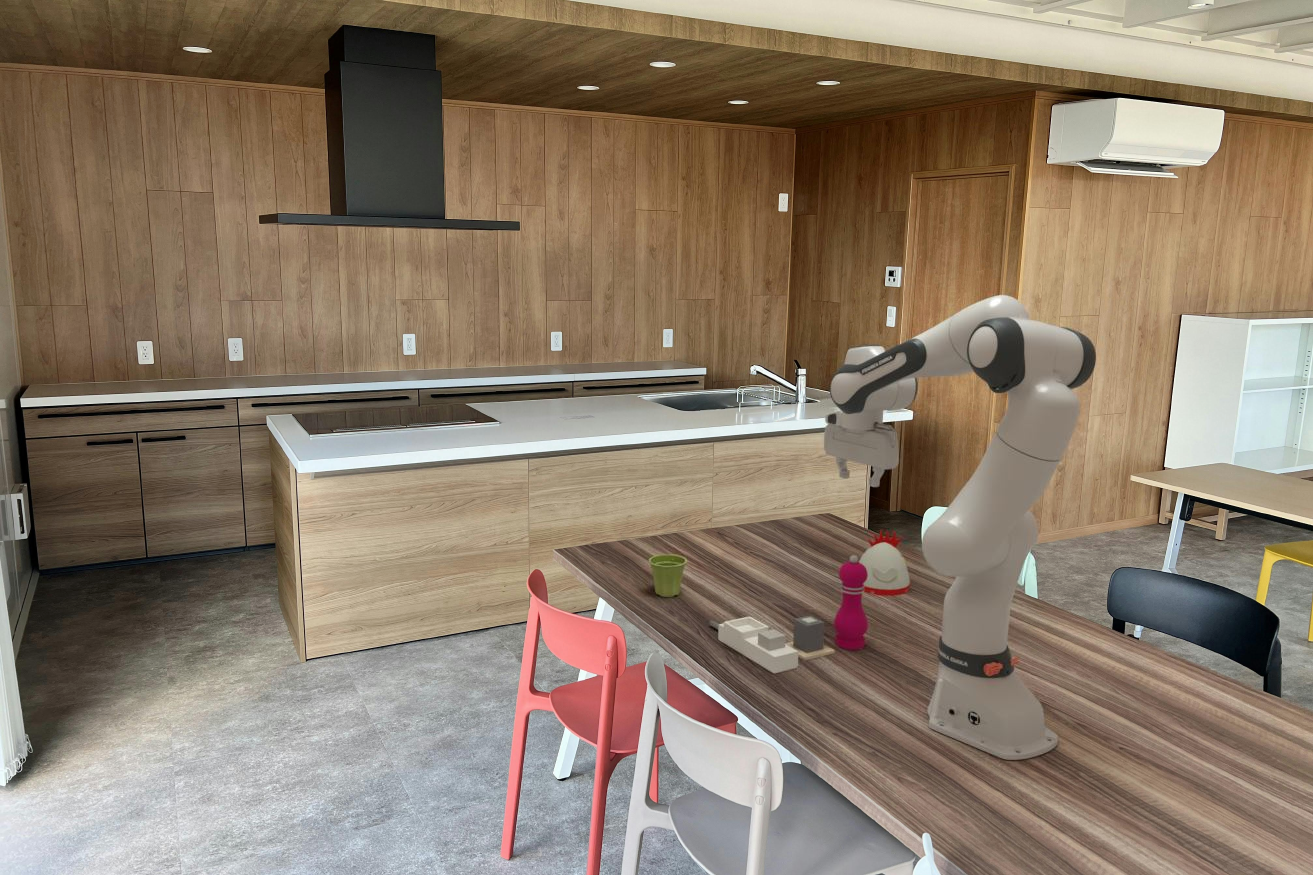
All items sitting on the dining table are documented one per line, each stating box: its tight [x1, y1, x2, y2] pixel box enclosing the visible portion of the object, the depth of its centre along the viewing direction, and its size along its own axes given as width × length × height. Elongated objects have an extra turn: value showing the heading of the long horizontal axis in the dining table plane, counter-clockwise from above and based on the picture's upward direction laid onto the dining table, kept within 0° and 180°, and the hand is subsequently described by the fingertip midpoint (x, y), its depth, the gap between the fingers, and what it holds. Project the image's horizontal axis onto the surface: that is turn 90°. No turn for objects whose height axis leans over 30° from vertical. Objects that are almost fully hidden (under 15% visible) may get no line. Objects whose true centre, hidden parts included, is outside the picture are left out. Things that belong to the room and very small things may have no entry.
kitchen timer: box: [858, 529, 911, 597], centre depth 235 cm, size 14×14×15 cm
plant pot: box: [648, 554, 688, 598], centre depth 229 cm, size 9×9×9 cm
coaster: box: [785, 641, 836, 661], centre depth 195 cm, size 8×8×1 cm
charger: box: [792, 615, 825, 653], centre depth 195 cm, size 4×4×6 cm
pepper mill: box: [833, 554, 869, 651], centre depth 197 cm, size 7×7×20 cm
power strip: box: [709, 616, 799, 674], centre depth 196 cm, size 28×7×6 cm, turn 30°
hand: (858, 482), depth 201 cm, fingers open, 8 cm apart
